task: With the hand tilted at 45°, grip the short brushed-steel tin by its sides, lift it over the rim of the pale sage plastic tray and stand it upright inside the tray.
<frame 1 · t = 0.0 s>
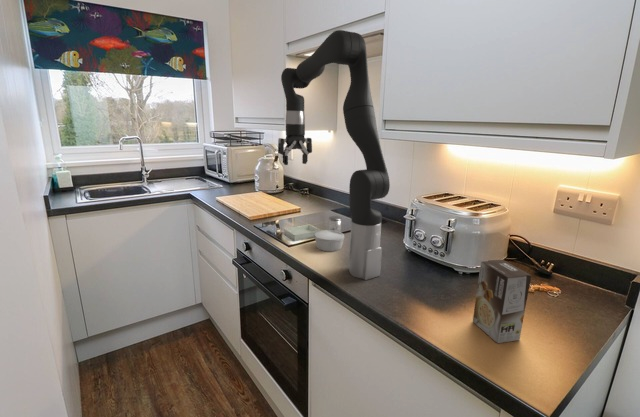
hand: (295, 164, 139), 29 cm above the worktop, tool pointing down, fingers open, 8 cm apart
ramekin: (329, 248, 131), on the worktop
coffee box: (494, 330, 81), on the worktop
tray: (302, 235, 144), on the worktop
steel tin: (334, 236, 143), on the worktop
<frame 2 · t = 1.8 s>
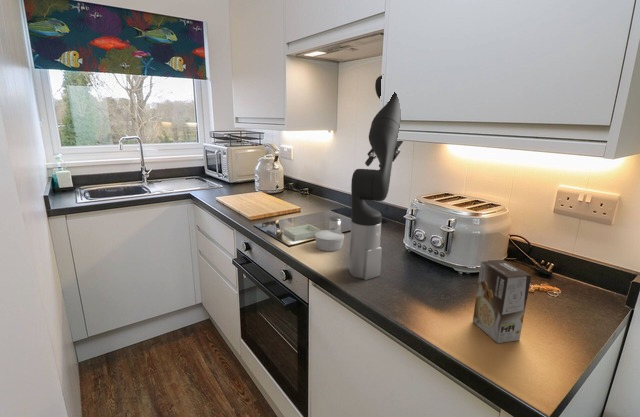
hand: (373, 166, 142), 29 cm above the worktop, tool tilted 45°, fingers open, 8 cm apart
nothing on the worktop moved.
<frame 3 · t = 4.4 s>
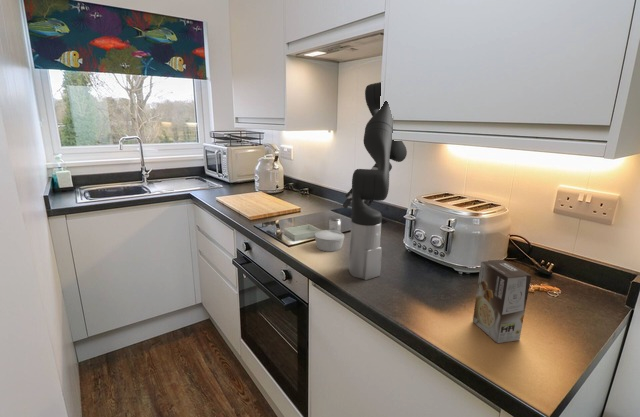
hand: (350, 209, 144), 11 cm above the worktop, tool tilted 45°, fingers open, 8 cm apart
nothing on the worktop moved.
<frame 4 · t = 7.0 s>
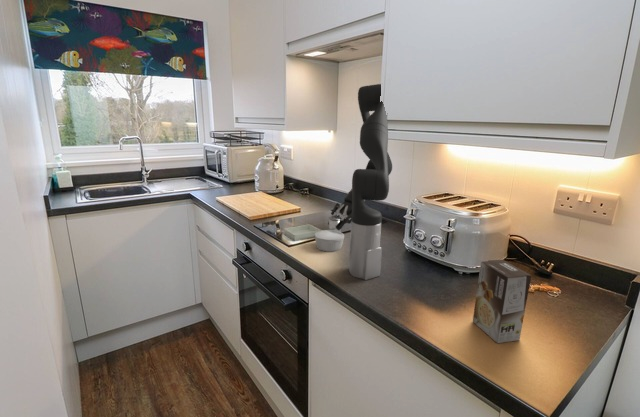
hand: (333, 227, 141), 4 cm above the worktop, tool tilted 45°, fingers closed on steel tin, 5 cm apart
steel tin: (334, 236, 143), on the worktop, touching gripper
everything else where it was.
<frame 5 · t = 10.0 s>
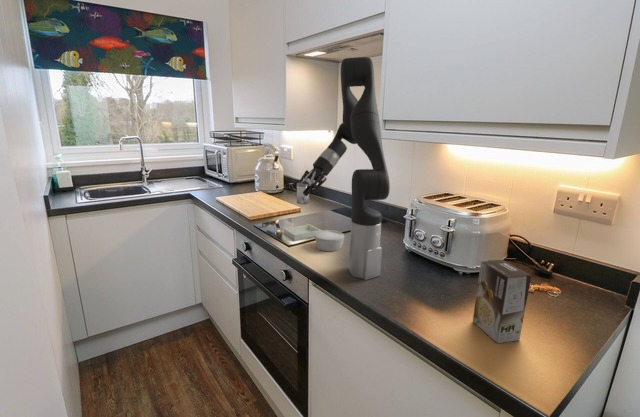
hand: (301, 193, 139), 18 cm above the worktop, tool tilted 45°, fingers closed on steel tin, 5 cm apart
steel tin: (303, 203, 140), point 14 cm above the worktop, touching gripper
everything else where it was.
when the fingers open (6 cm above the worktop, at t = 13.3 s): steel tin drops 1 cm, resting on tray.
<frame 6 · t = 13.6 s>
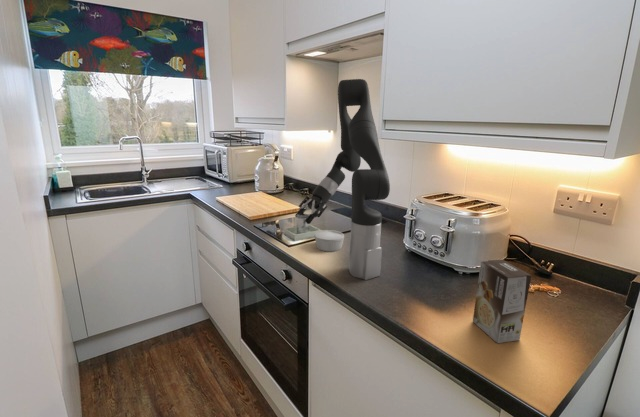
hand: (301, 220, 142), 7 cm above the worktop, tool tilted 45°, fingers open, 8 cm apart
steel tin: (302, 233, 144), point 1 cm above the worktop, touching tray
everything else where it was.
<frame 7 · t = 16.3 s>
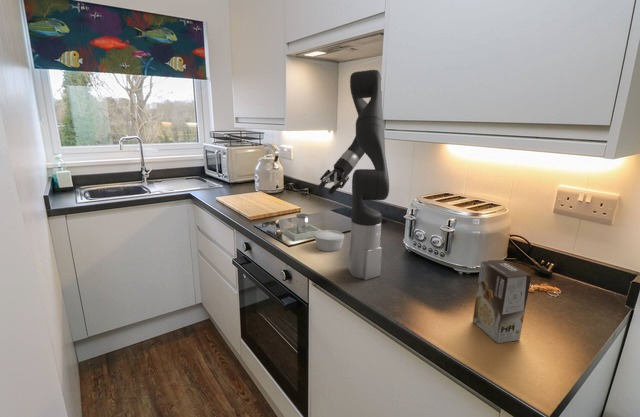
hand: (323, 191, 145), 17 cm above the worktop, tool tilted 45°, fingers open, 8 cm apart
nothing on the worktop moved.
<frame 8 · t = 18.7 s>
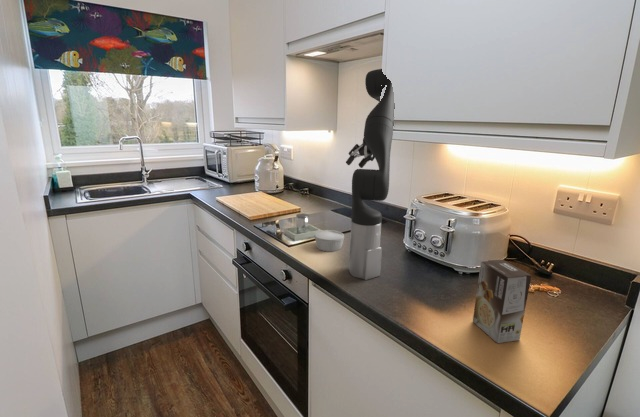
hand: (353, 165, 144), 29 cm above the worktop, tool tilted 45°, fingers open, 8 cm apart
nothing on the worktop moved.
at the end: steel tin 0.1 cm off-centre on the tray, point 0.6 cm above the tray's base; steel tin tilted 0°; the gripper is holding nothing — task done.
